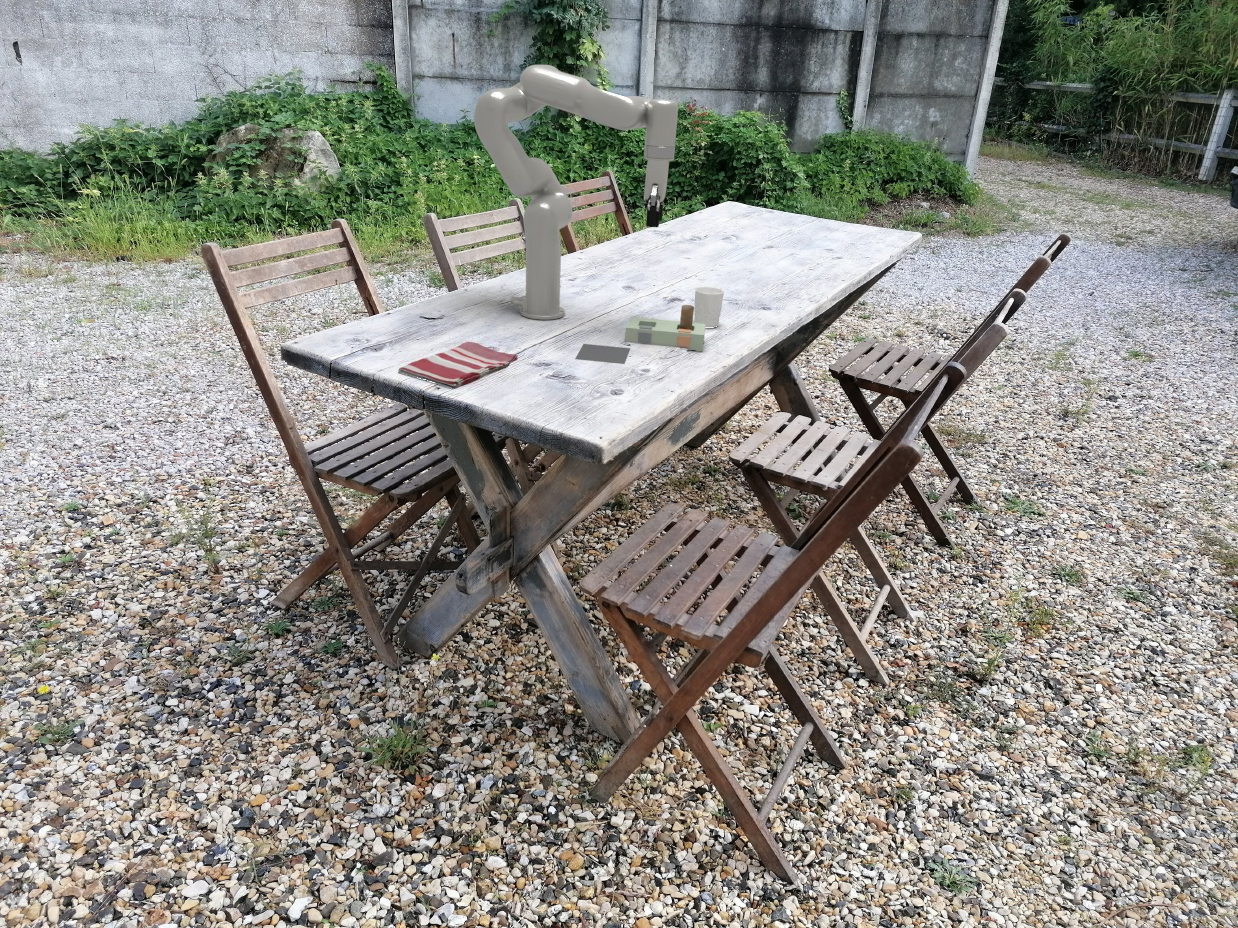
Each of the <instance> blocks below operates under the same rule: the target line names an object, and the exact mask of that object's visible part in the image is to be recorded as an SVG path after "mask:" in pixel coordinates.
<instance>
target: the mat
mask: <svg viewBox="0 0 1238 928" xmlns="http://www.w3.org/2000/svg"><path fill="white" fill-rule="evenodd" d="M630 351H631V347H623V346H622V347H621V346H612V345H611V346H608V345H602V344H601V345H600V344H599V345H598V344H589V343H583V344H582V346H581V347H580V349H579V351H578V353H577V355H576V356H575V358H574V360H580V361H591V362H599V363H600V362H602V363H611V364H620V365H625V363H626V361H627V359H628V356H629V354H630Z"/></svg>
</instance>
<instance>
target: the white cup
mask: <svg viewBox="0 0 1238 928" xmlns="http://www.w3.org/2000/svg"><path fill="white" fill-rule="evenodd" d="M724 293H725V291H724V290H723V289H722V288H718V287H714V286H699V287H696V288H695V293H694V313H693V323H702V324H706V326H705V327H716V326H718V327H719V321H720V317H721V311H722V308H723V301H724V300H723V299H724Z"/></svg>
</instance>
